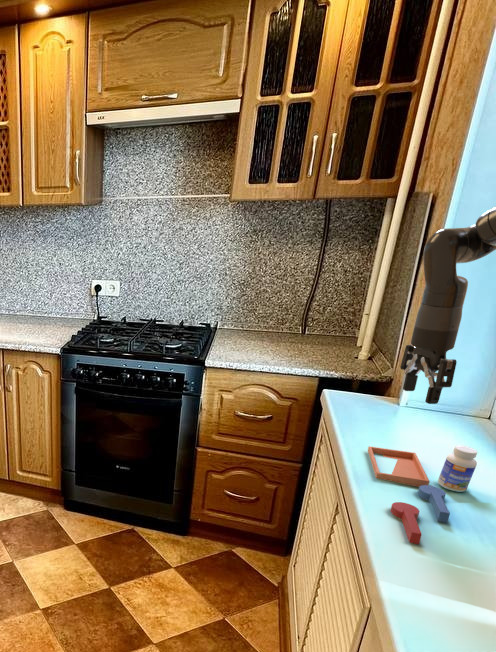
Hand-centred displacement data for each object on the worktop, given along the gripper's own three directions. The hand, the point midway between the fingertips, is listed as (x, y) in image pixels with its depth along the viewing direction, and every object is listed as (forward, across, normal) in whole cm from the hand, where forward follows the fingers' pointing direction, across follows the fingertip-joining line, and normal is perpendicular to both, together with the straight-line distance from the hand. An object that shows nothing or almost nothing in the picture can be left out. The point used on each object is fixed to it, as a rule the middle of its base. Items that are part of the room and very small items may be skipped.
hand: (419, 396), depth 118 cm
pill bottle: (+22, -2, -10) cm, 24 cm away
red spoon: (+22, -19, +8) cm, 30 cm away
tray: (+22, +6, -2) cm, 22 cm away
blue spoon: (+22, -11, -2) cm, 24 cm away
